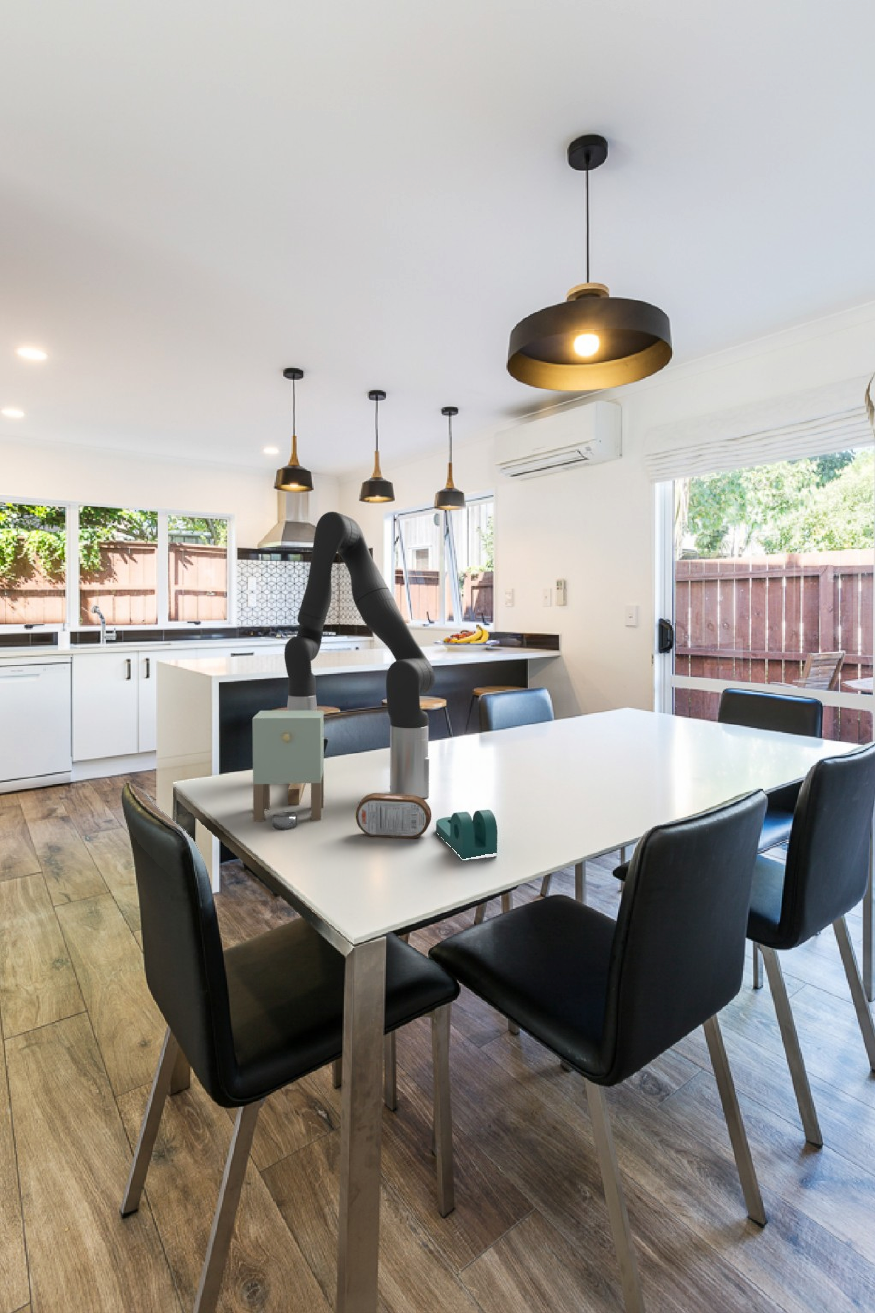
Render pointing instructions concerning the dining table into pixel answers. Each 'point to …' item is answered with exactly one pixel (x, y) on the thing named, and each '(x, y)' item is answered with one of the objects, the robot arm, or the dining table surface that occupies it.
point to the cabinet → (288, 756)
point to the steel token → (285, 820)
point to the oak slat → (295, 793)
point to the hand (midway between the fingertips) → (302, 776)
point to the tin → (393, 815)
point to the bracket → (469, 833)
